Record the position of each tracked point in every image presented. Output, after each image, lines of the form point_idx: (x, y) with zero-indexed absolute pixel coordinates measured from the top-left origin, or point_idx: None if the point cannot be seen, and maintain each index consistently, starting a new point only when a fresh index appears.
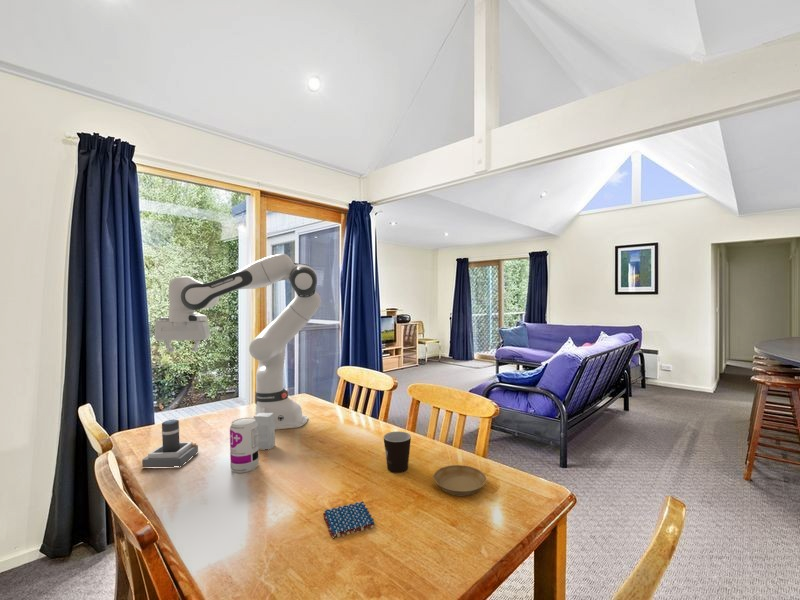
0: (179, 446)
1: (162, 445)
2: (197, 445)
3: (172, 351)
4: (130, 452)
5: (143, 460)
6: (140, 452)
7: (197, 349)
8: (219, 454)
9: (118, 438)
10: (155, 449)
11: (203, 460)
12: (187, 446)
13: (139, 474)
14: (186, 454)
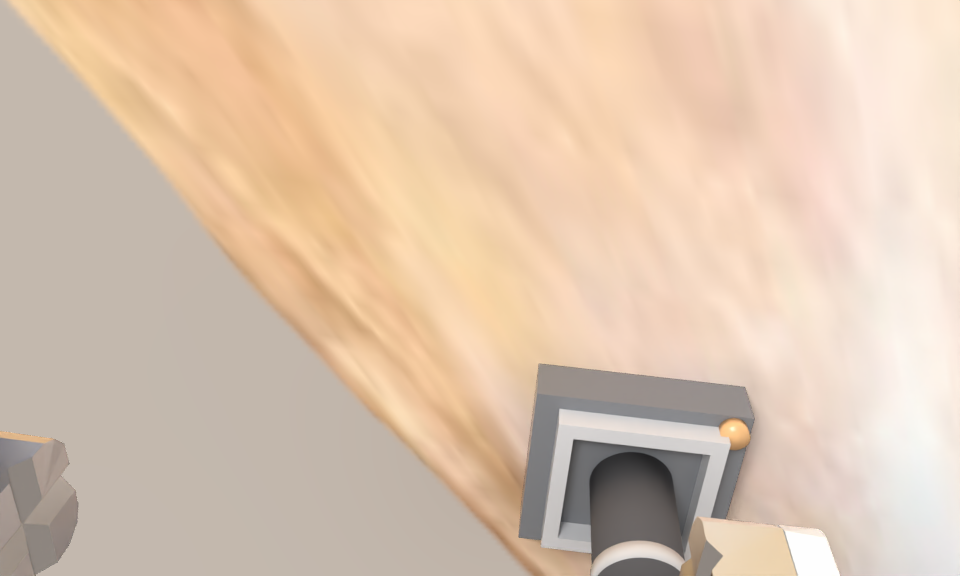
0: (674, 494)
1: (562, 460)
2: (753, 421)
3: (61, 477)
4: (321, 301)
5: (525, 535)
6: (383, 312)
7: (829, 565)
8: (878, 422)
9: (43, 34)
10: (549, 502)
11: (801, 474)
12: (717, 486)
13: (537, 546)
14: (725, 515)
